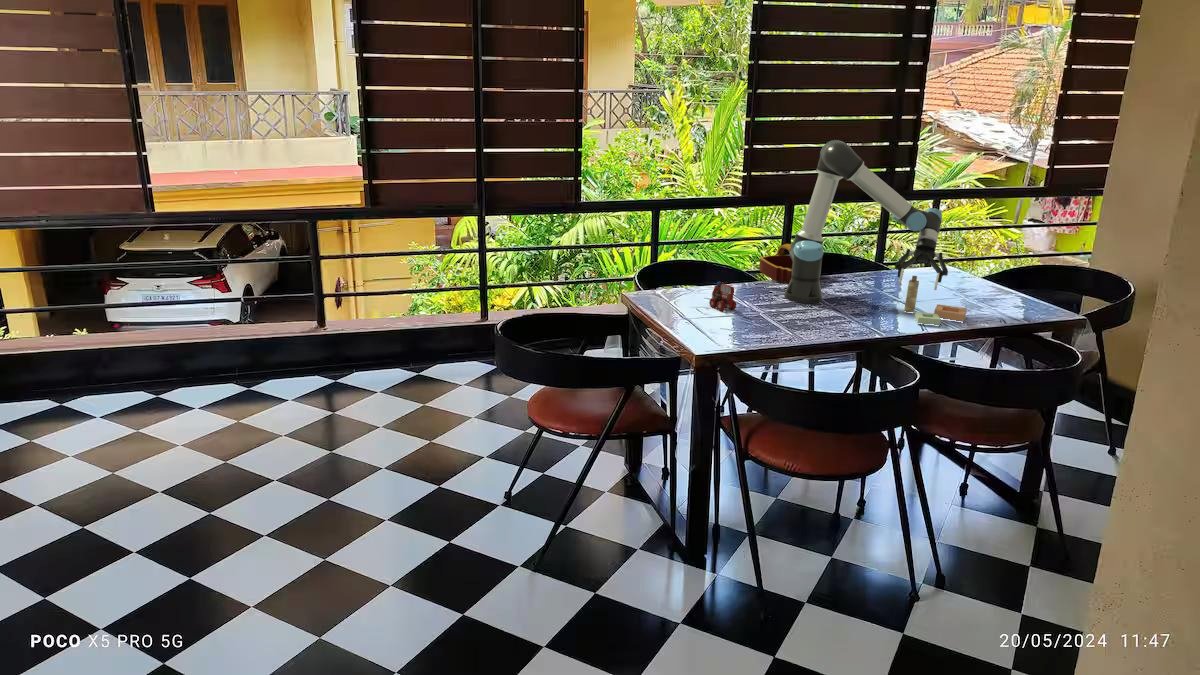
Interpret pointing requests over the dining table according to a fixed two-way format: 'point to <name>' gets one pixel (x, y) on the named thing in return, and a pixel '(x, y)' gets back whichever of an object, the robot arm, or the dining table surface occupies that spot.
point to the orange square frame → (950, 312)
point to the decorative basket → (777, 265)
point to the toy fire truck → (722, 297)
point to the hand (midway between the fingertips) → (917, 286)
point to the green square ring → (927, 318)
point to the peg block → (911, 294)
